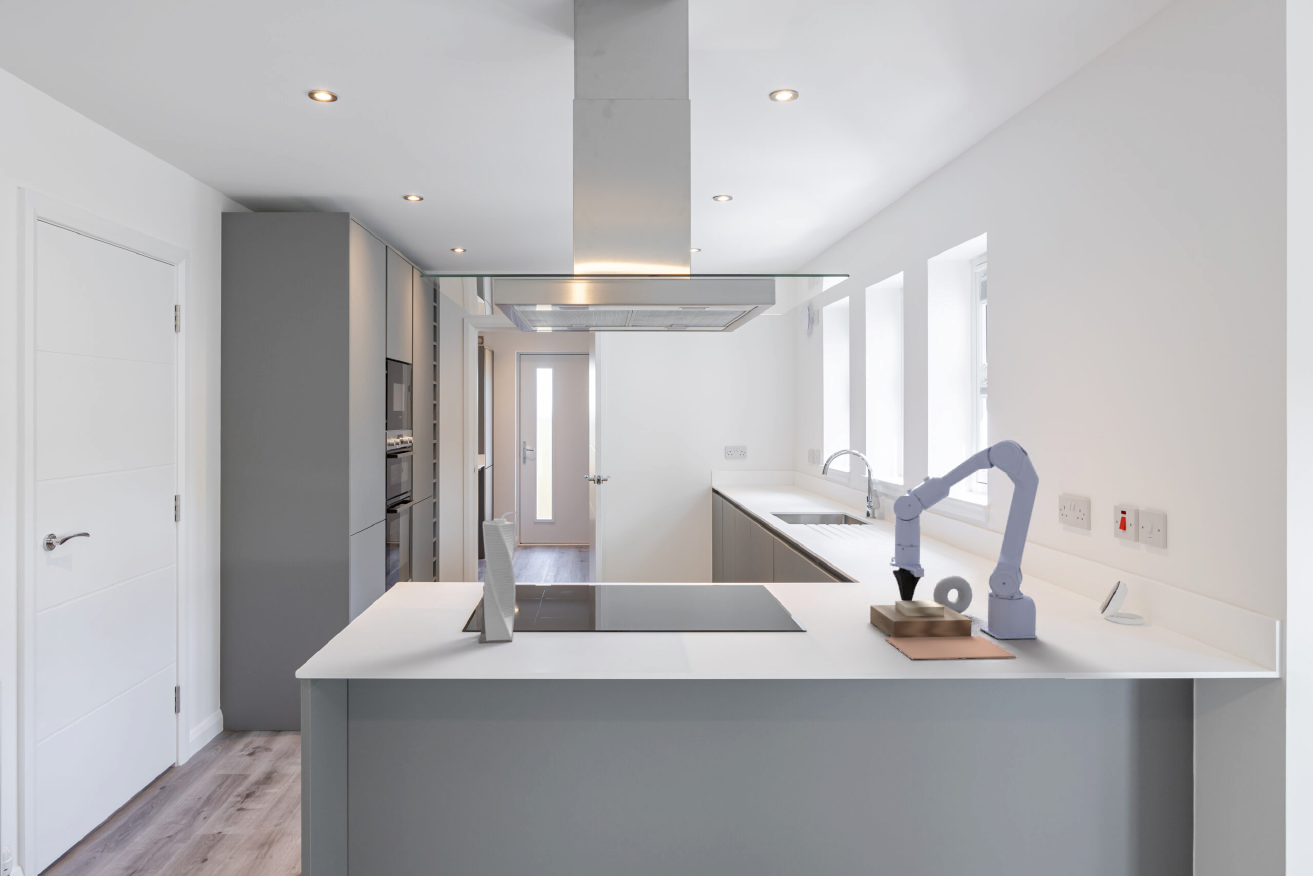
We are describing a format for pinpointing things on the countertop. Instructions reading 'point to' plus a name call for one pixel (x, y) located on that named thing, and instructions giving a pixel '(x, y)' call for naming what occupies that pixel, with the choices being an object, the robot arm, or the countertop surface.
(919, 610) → the cream rectangular block
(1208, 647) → the countertop surface
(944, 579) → the donut
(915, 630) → the block
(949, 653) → the mat
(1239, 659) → the countertop surface
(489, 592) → the skyscraper
